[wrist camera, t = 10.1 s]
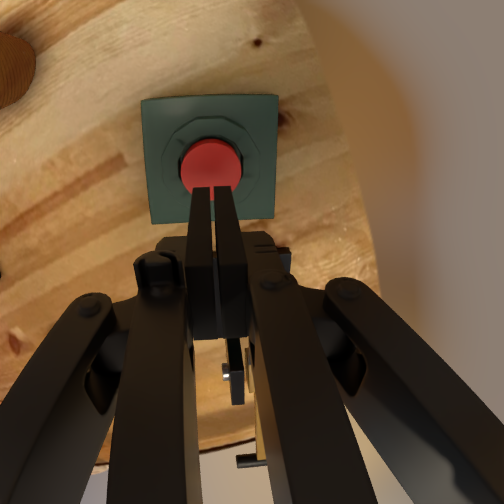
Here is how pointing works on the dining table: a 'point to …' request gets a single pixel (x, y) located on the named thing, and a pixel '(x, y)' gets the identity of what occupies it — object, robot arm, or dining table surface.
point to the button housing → (204, 127)
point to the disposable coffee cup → (15, 68)
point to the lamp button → (210, 166)
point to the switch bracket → (234, 365)
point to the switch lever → (259, 456)
